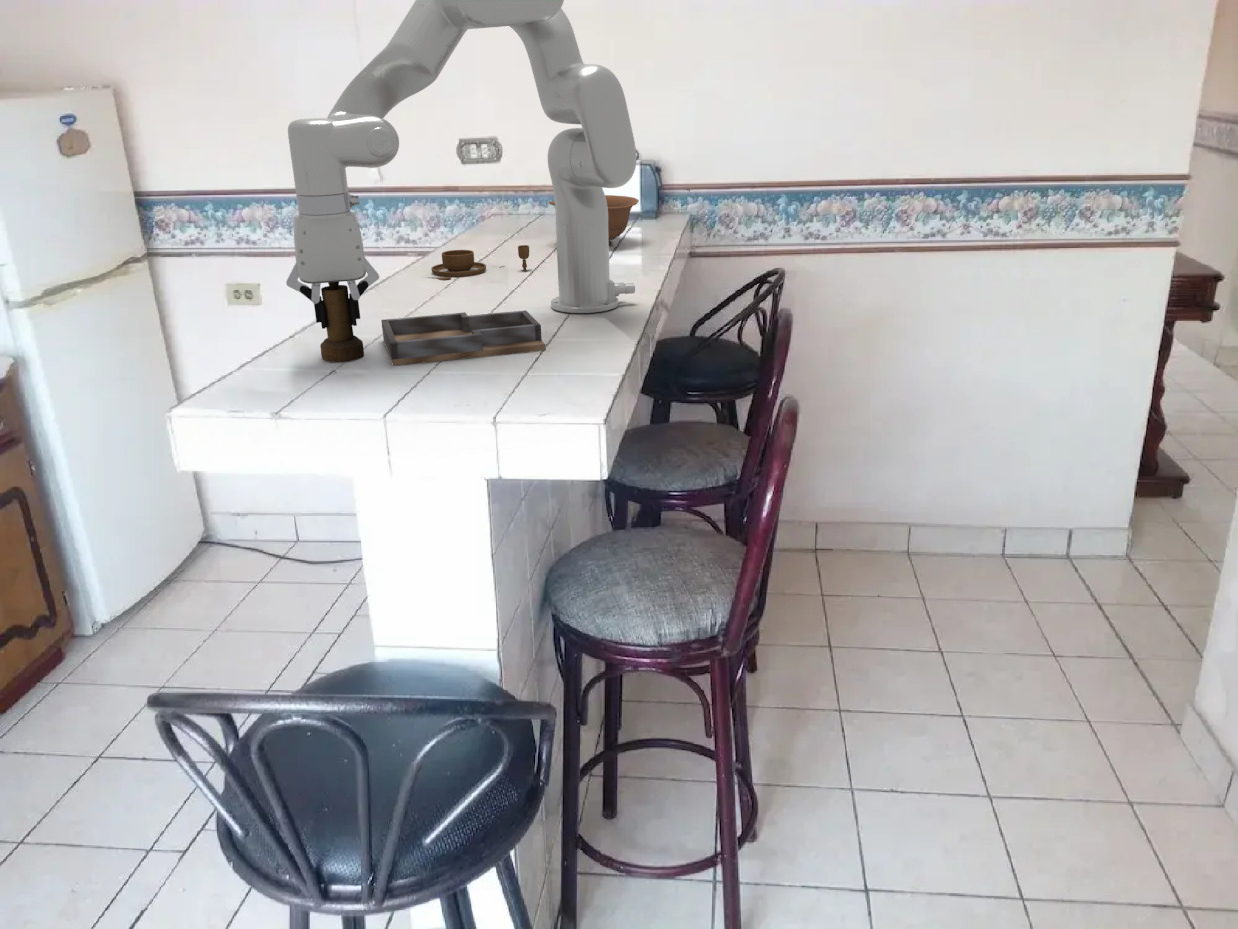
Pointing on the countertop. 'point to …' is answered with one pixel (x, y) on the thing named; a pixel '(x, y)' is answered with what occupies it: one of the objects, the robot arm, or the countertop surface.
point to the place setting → (467, 263)
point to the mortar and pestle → (339, 326)
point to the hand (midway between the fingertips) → (338, 324)
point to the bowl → (617, 214)
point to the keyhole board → (460, 336)
